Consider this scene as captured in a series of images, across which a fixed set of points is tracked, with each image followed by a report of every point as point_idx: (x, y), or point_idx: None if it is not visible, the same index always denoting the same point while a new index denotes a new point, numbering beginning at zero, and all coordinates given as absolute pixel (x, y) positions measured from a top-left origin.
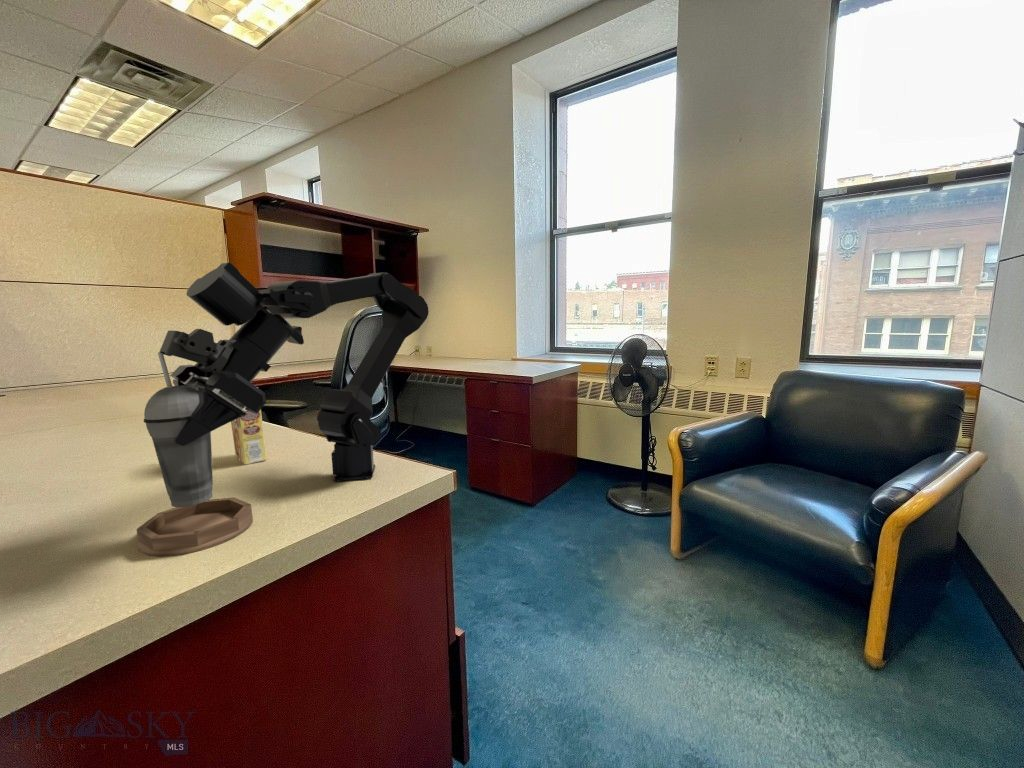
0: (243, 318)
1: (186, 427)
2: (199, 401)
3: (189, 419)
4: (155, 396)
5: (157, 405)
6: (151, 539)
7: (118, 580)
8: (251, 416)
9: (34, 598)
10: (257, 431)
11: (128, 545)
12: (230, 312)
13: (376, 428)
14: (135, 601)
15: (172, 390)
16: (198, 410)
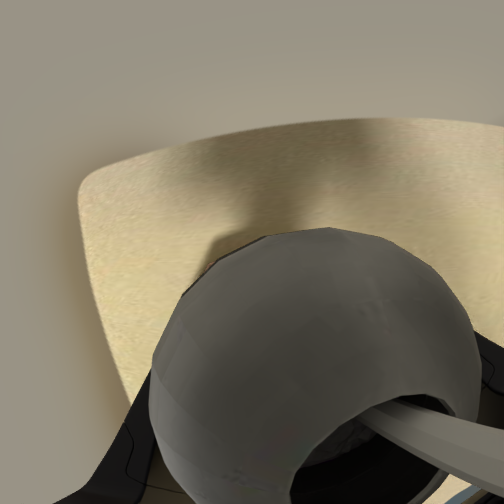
0: None
1: (143, 387)
2: (134, 498)
3: (145, 413)
4: (272, 301)
5: (190, 305)
6: (209, 263)
7: (166, 230)
8: None
9: (186, 159)
10: None
11: (280, 233)
12: None
13: None
14: (104, 251)
15: (227, 461)
16: (104, 457)
